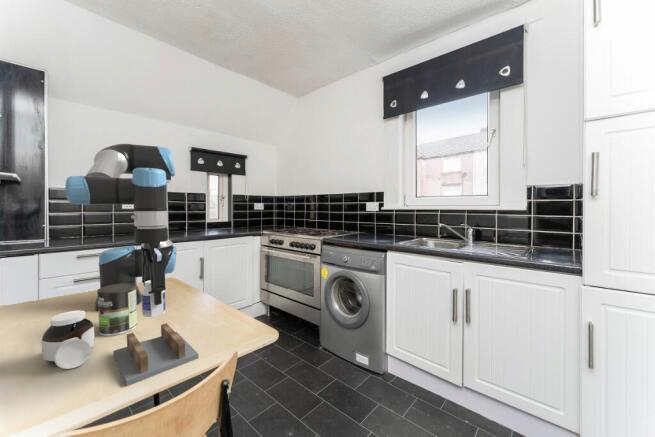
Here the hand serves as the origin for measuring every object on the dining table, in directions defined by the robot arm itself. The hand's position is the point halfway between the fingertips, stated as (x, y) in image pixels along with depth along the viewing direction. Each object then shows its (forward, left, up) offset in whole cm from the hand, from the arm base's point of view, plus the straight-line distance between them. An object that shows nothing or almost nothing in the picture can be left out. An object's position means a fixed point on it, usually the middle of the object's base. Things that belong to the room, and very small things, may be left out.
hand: (154, 312), depth 74 cm
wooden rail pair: (0, 0, -11) cm, 11 cm away
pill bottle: (0, 0, 0) cm, 0 cm away
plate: (0, 0, -12) cm, 12 cm away
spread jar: (-14, -16, -13) cm, 25 cm away
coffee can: (-27, -4, -13) cm, 30 cm away
